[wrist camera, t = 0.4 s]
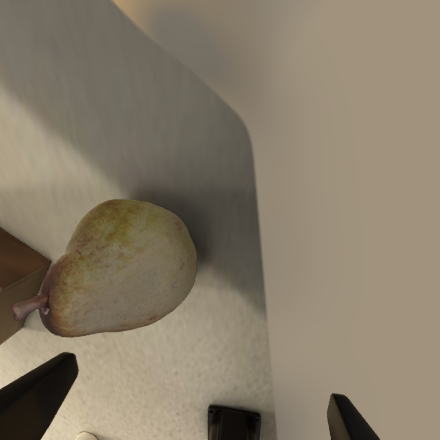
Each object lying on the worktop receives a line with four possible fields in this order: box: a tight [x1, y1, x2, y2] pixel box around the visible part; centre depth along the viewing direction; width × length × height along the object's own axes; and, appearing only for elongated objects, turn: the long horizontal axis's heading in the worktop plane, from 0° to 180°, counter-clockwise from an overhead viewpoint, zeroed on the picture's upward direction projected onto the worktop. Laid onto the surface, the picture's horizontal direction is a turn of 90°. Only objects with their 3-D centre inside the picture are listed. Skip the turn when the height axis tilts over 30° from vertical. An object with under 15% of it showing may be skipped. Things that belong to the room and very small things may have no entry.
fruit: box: [11, 199, 197, 337], centre depth 17 cm, size 10×9×12 cm
